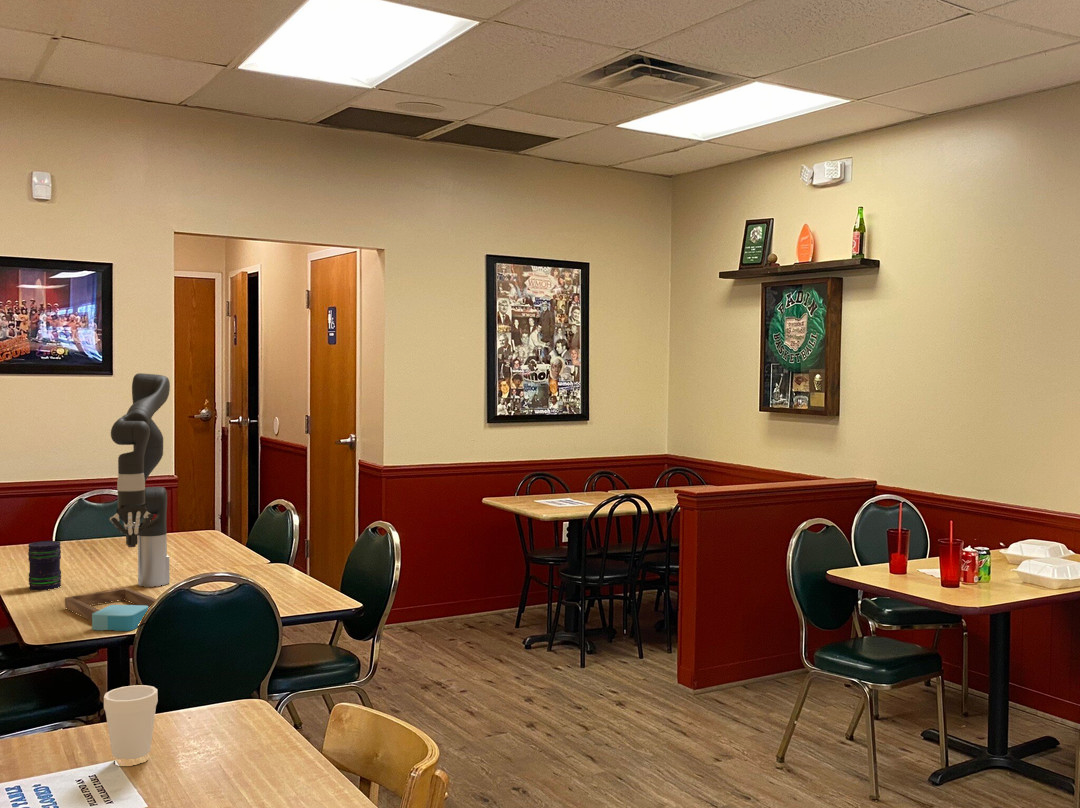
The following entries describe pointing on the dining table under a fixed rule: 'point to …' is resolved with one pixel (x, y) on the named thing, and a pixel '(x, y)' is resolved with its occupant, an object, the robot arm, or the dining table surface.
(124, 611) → the data package
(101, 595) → the walnut frame
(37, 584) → the storage jar
